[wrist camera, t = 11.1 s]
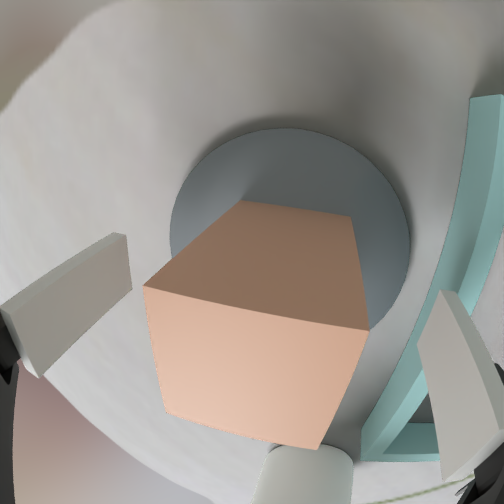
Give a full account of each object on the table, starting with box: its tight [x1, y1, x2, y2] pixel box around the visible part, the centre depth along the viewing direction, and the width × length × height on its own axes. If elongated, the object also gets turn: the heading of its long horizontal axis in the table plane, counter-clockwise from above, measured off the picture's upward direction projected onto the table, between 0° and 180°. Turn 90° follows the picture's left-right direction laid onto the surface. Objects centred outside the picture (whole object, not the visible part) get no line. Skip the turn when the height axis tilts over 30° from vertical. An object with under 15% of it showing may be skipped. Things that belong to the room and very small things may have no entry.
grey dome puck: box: [170, 128, 410, 330], centre depth 15 cm, size 12×12×1 cm
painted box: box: [143, 200, 370, 450], centre depth 11 cm, size 5×5×8 cm
